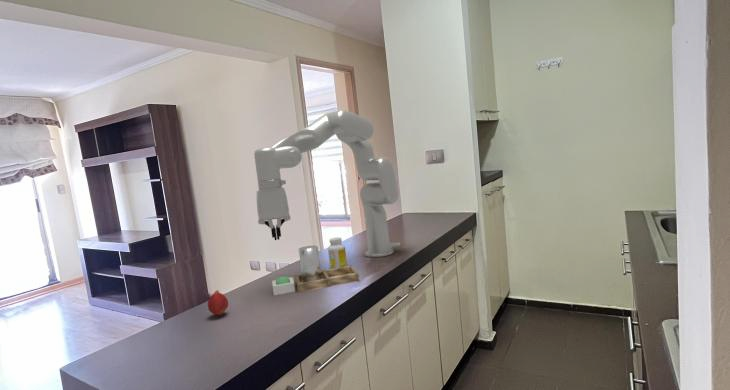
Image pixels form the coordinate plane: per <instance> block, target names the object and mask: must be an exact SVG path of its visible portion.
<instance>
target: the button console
mask: <svg viewBox="0 0 730 390" xmlns="http://www.w3.org/2000/svg"><path fill="white" fill-rule="evenodd" d="M288 278H289V283H284V284H279V285H277V279H274V280H272V281H271V282H272V283H271V284H272V291H273V292H272V293H273V296H278V295H279V296H280V295H284V294H288V293H290V294H291V293H294V292H295V293H296V289H295V282H294V277H292V276H291V277H288Z"/></svg>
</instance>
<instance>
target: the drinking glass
mask: <svg viewBox="0 0 730 390" xmlns="http://www.w3.org/2000/svg"><path fill="white" fill-rule="evenodd" d="M298 255H299V263H300V270H301V275H302V279H303V283H304V282H309V281H315V280H320V279H322V278H321V271H322V270H321V263H320V262H321V261H320V255H319V246H318V245H305V246H302V247H300V248H298Z"/></svg>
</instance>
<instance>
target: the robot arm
mask: <svg viewBox="0 0 730 390" xmlns="http://www.w3.org/2000/svg"><path fill="white" fill-rule="evenodd" d="M373 134H374V126H373V124H372V122H371V121H370V120H369V119H368V118H365V117H363V116H361V115H359V114H356V113H354V112H352V111H350V110H346V109H345V110H344V109H339V110H335V111H331V112H327V113H324V114H322V115H321V116H320V117H318V118H317V119H315V120H314V121H313V122H311V123H310V124H309V125H307V126H306V127H304V128H302V129H300V130H298V131H296V132H295V133H293V134H291V135H289V136H287V137H285V138H283V139H282V140H280V141H279V142H277V143H276V144H274V145H273V146H271V147H265V148H257V149H256V150H254V153H253V155H254V156H253V157H254V163H255V169H256V170H255V172H256V177H257V186H258V190H257V191H256V208H257V210H256V211H257V216H258V221H257V223H258V224H259V225H266V226H267V227H268V228H269V229H270V231H271V238H273V239H274V240H275V241H277V240H278V241H279V240H280V237H282V231H281V227H282V226H283V224H284V223H285V222H288V221H291V219H292V218H291V215H290V208H289V203H288V197H287V196H288V195H287V193H286V189H285V188H284V187H283V185H286V183H287V182H286V180H285V179H284V180H283V179H282V178H281V172H280V171H281V170H280V169H293V168H295V167H297V166H298V165H299V164H300V163H301V162H302V158H303V157H302V154H303V153H304V154H305V153H307V152H310V151H313V150H315V149H318V148H319V147H321V145H323V144H324V143H325V142H327V141H328V140H329V139H331V138H332V137H333V136H335V135H336V137H337V139H338V140H339V141H340V142H342V143H344V144H346V145H347V146H348V147H349V148H350V149H351V151H352V155H353V158H354V162H355V165H356V166H355V167H356V171H357V173H358V176H359V178H360V179H361V180H363V181H375V182H368V183H365V184H363V185H362V186H361V188H360V190H359V197H360V201H361V203H362V208H363V214H364V224H365V232H366V241H367V250H366V251H365V252H364V254H365V256H366V257H369V258H381V257H386V256H390V255H392V254H393V253H394V248H399V247H401V243H400V242H391V241H390V238H389V230H388V229H389V228H388V218H387V212H386V210H385V209H386V208H385V207H384V206H383V205H393V204H395V203H396V202H397V201H398V200H399V199H398V198H399V187H398V183H397V178H396V173H395V169H394V166H393V163H392V161H391V160H390V159H389V158H388V157H384V156H378V157H376V156H375V152H374V149H373V146H372V143H371V142H370V140H369V139H371V138H372V136H373ZM376 181H377V182H376ZM273 220H276V225H274V223H273Z"/></svg>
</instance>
